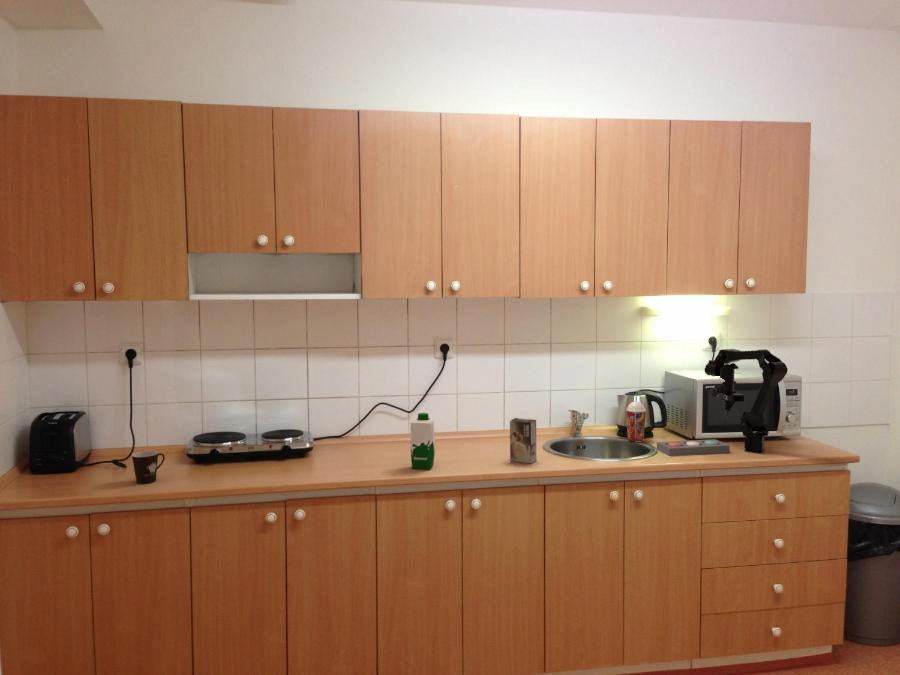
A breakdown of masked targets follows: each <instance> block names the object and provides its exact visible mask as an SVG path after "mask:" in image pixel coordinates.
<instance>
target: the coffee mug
mask: <svg viewBox="0 0 900 675" xmlns="http://www.w3.org/2000/svg"><path fill="white" fill-rule="evenodd" d="M159 456H162V459H161V462H160V463H159V465H158V462H159V459H158V458H159ZM131 458H132V463H133V464H132V465H133V470H134V475H135V480H136V481H135V482H136V484H138V485H148V484H153V483H155V482H157V472H158V469H159V468H160V467H161V466H162V465H163V463H164V461H165V459H166V458H165V455H164V453H159V452H158V451H155V450H143V451H139V452H135V453H134V452H133V453H132V454H131Z"/></svg>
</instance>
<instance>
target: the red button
mask: <svg viewBox="0 0 900 675" xmlns="http://www.w3.org/2000/svg"><path fill="white" fill-rule="evenodd" d="M669 442H670V441H669ZM668 445H669V446H671V447H676V446H681V444H680V443H676V442H670V443H668Z"/></svg>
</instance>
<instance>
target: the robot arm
mask: <svg viewBox="0 0 900 675" xmlns="http://www.w3.org/2000/svg"><path fill="white" fill-rule="evenodd" d="M744 360H749V361H750V360H757V363H758V365H759V366H758V367H759V368H760V369H761V370H762V373H761V374H762V379H763V380H762V384H761V386H760V388H759V389H758V393H757V395H756V398H755V399H754V402H753V404H752V407H751V409H750V410H748V411H743V413H742V417H741V418H740V429H741V432H742V436H743V437H745V438H744V450H743V451H744V452H747V453H748V452H750V453H757V454H762V453H764V452H765V451H766V449H765V437H768V435H769V429H768V428H767V427H766V425H765V424H764V423H765V421H766V420H765V417H764V416H765V415H764V414H765V411H766V409H767V407H768V404H769V402H770V400H771V398H772V396H773V393H774V391H775V389H776V387H777V385H778V384H780V382H781V381H782V380H784V378H785V376H786V375H787V374H788V371H789V370H788V369H789V368H788V367H787V365H786V363H785V362H783V361H782V360H781V359H780V358H779V357H777V356H775V355H774V354H772V352H770V350H768V349H757V350H739V349H736V348H726V349H720V350H719V351H718V352H717V355H716V356H715V358H714V359H709V360H708V363H707V364H706V365H705V367H704V374H705V375H706V376H710V375H711V377H715V376H720V377H719V379H720V378H722V379H724V380H725V382H723V383H722V385H720V386H717V387H714V388H713V389H710V390H709V391H710V394H711V396H710V397H711V398H714V397H718V395H719V394H721V393H722V394H726V395H724V396H726V398H725V399H721V400H722V401H723V402H724V404H725V410H728V411H729V412H730V411H731V410H732V409H733V408H732V407H733V406H734V405H735V403H736V402H737V403H738V402H739V403H740V402H743V403H744V402H746V396H745V395H744V394H743V393H737V391H736V390H735V385H736V384H737V381H735V370H739V366H738V364H736V363H737V362H740V361H744ZM735 362H736V363H735ZM728 411H727V412H728Z"/></svg>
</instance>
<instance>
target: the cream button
mask: <svg viewBox="0 0 900 675" xmlns="http://www.w3.org/2000/svg"><path fill="white" fill-rule="evenodd" d="M689 441H690V440H689ZM686 444H687V445H689V446H696V445H699V443H698V442H693V441H690V442H686Z"/></svg>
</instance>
